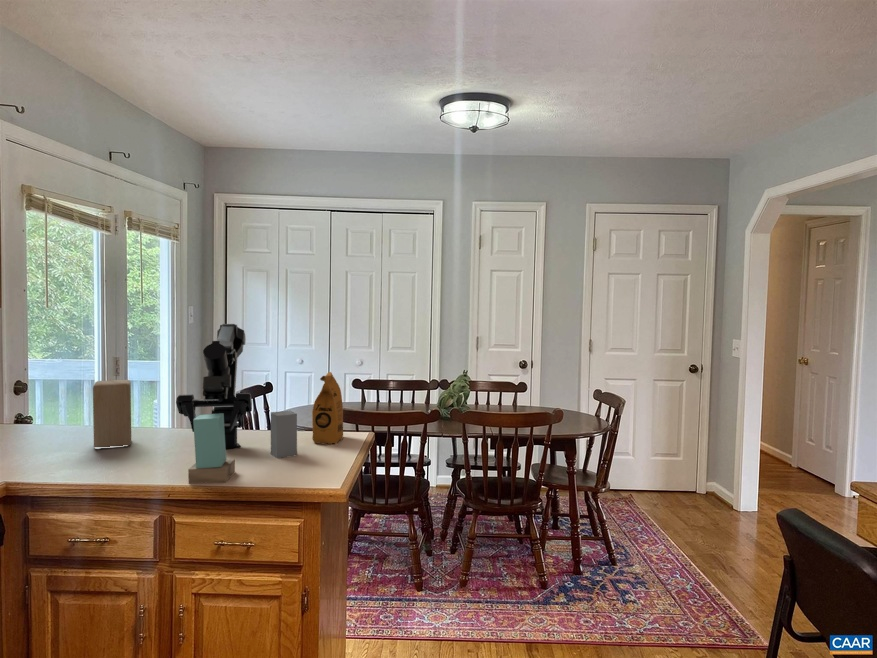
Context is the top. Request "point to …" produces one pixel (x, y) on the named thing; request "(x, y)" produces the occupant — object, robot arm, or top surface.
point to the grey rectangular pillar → (283, 434)
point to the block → (112, 413)
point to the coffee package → (328, 412)
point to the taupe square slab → (212, 473)
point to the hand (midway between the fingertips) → (212, 430)
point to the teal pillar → (209, 440)
